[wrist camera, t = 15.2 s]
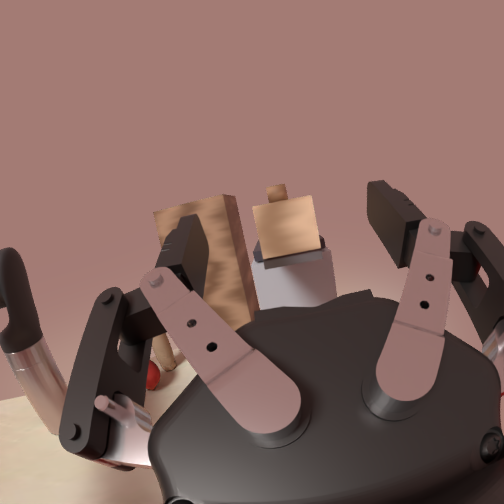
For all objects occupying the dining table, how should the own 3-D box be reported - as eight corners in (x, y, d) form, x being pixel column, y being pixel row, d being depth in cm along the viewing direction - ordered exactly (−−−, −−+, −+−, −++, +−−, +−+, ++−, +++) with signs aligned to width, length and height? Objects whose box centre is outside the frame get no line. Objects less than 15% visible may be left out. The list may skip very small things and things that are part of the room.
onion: (135, 388, 46) (120, 356, 45) (158, 377, 50) (145, 345, 48) (145, 401, 41) (128, 366, 40) (170, 388, 45) (156, 354, 44)
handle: (179, 358, 57) (159, 298, 54) (180, 372, 51) (157, 307, 48) (160, 363, 56) (138, 303, 53) (159, 377, 50) (134, 313, 47)
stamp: (264, 270, 19) (245, 177, 18) (270, 233, 40) (261, 191, 39) (323, 259, 18) (305, 165, 17) (297, 228, 40) (289, 185, 39)
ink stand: (287, 429, 31) (248, 253, 27) (285, 373, 44) (257, 236, 40) (345, 419, 30) (328, 238, 26) (330, 365, 43) (310, 225, 39)
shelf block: (202, 379, 47) (153, 212, 42) (215, 347, 60) (179, 209, 55) (263, 373, 46) (222, 194, 41) (266, 340, 59) (235, 196, 53)
